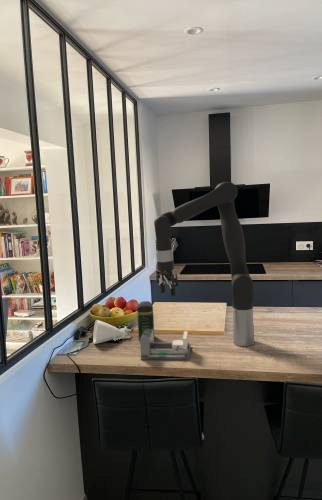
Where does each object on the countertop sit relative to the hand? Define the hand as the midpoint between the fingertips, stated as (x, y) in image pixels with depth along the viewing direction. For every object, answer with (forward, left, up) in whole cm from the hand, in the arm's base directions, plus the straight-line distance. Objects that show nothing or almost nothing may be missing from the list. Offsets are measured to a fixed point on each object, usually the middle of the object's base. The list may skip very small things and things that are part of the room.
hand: (167, 294), depth 171 cm
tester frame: (+1, +7, -26) cm, 26 cm away
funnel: (+30, -8, -26) cm, 41 cm away
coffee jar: (+13, -10, -26) cm, 31 cm away
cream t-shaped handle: (-5, +7, -24) cm, 26 cm away
